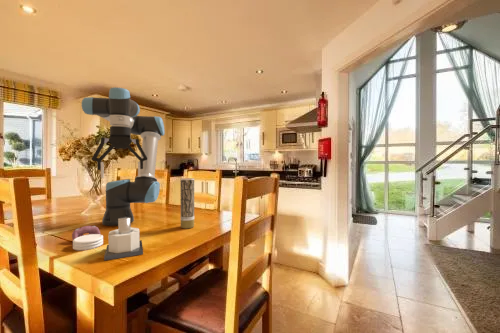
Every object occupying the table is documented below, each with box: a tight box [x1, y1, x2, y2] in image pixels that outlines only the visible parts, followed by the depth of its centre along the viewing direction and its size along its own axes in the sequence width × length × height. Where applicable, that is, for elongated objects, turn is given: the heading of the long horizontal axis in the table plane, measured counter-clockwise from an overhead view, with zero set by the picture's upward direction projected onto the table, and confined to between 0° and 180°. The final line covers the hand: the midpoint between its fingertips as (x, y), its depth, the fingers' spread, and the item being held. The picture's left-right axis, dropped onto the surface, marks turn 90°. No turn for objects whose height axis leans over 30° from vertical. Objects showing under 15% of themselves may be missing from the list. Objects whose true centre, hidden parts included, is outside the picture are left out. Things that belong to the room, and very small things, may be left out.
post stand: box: [103, 217, 144, 261], centre depth 87 cm, size 12×12×12 cm
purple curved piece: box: [71, 225, 102, 241], centre depth 100 cm, size 10×5×7 cm, turn 136°
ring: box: [107, 226, 141, 253], centre depth 87 cm, size 10×10×6 cm
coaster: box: [72, 233, 104, 251], centre depth 93 cm, size 10×10×4 cm
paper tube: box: [180, 177, 195, 229], centre depth 119 cm, size 7×7×25 cm
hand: (121, 177), depth 98 cm, fingers open, 13 cm apart
